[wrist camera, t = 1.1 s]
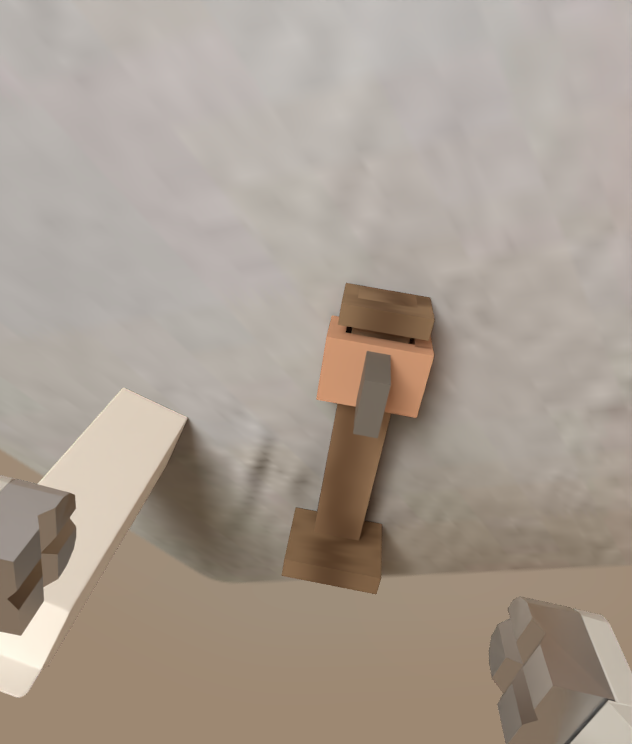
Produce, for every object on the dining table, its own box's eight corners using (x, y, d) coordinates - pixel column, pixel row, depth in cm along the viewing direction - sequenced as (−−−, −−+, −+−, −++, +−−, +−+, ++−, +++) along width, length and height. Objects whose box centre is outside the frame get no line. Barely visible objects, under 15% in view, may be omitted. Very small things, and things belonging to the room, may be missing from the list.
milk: (123, 385, 43) (-90, 620, 24) (190, 417, 44) (34, 670, 25) (105, 437, 46) (-98, 683, 27) (168, 465, 47) (13, 725, 27)
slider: (430, 332, 37) (439, 386, 30) (414, 391, 40) (419, 452, 33) (331, 315, 37) (319, 364, 31) (322, 374, 40) (308, 432, 33)
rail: (444, 300, 36) (453, 335, 31) (377, 539, 48) (376, 594, 43) (331, 280, 36) (322, 312, 31) (293, 522, 48) (281, 575, 43)
